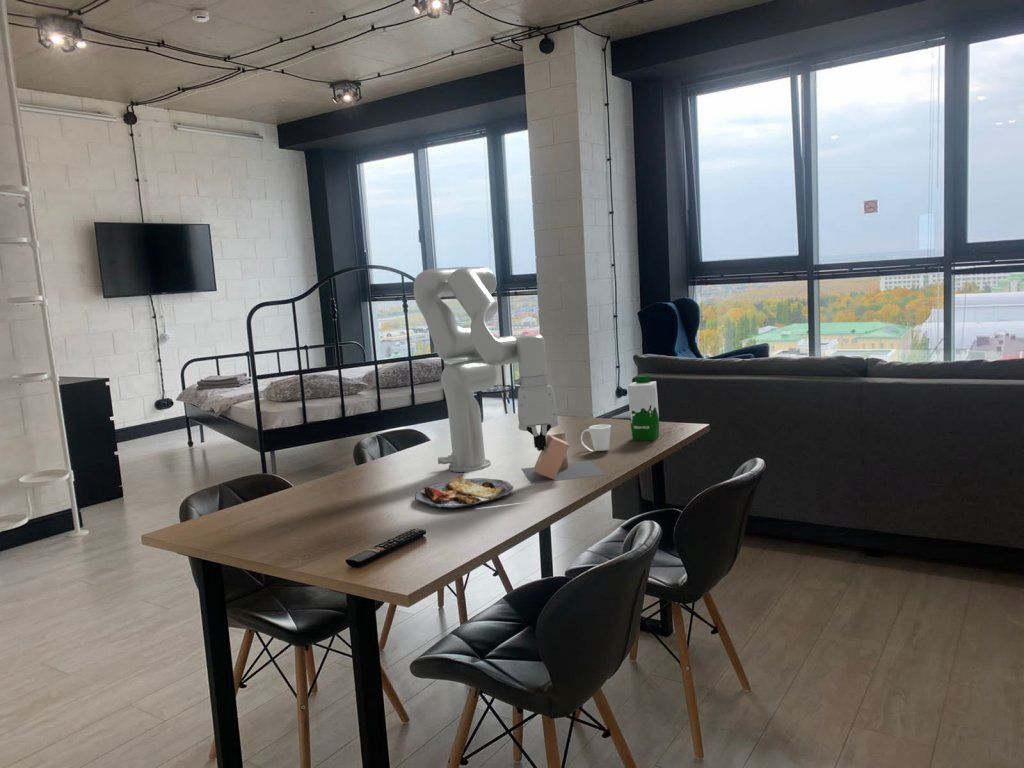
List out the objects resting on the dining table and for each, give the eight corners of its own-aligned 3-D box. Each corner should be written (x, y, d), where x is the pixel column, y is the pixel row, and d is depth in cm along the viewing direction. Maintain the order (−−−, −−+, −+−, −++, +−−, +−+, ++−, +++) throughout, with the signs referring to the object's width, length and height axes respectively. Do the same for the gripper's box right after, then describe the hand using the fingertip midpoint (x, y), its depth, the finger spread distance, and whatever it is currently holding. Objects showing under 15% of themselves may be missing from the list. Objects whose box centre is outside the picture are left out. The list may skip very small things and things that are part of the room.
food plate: (399, 500, 199) (398, 487, 198) (471, 481, 213) (470, 468, 213) (456, 519, 179) (454, 505, 179) (530, 497, 194) (529, 483, 194)
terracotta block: (536, 472, 203) (552, 438, 203) (533, 467, 209) (548, 434, 209) (554, 479, 204) (569, 445, 204) (550, 474, 210) (565, 441, 209)
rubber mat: (531, 485, 202) (530, 483, 202) (521, 470, 220) (521, 468, 220) (604, 476, 205) (604, 474, 205) (589, 461, 222) (589, 460, 222)
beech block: (550, 470, 215) (547, 435, 214) (546, 465, 221) (543, 431, 220) (568, 468, 216) (565, 433, 214) (564, 463, 221) (561, 429, 220)
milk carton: (662, 435, 250) (658, 374, 248) (656, 441, 242) (651, 378, 240) (635, 435, 254) (631, 375, 251) (629, 441, 246) (624, 379, 243)
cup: (608, 455, 228) (606, 428, 227) (577, 454, 233) (575, 428, 232) (616, 450, 235) (614, 424, 234) (586, 449, 239) (584, 424, 238)
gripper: (508, 386, 199) (514, 456, 201) (564, 380, 200) (570, 449, 203) (504, 383, 206) (511, 450, 208) (559, 377, 208) (565, 444, 210)
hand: (540, 449), depth 205 cm, fingers closed
